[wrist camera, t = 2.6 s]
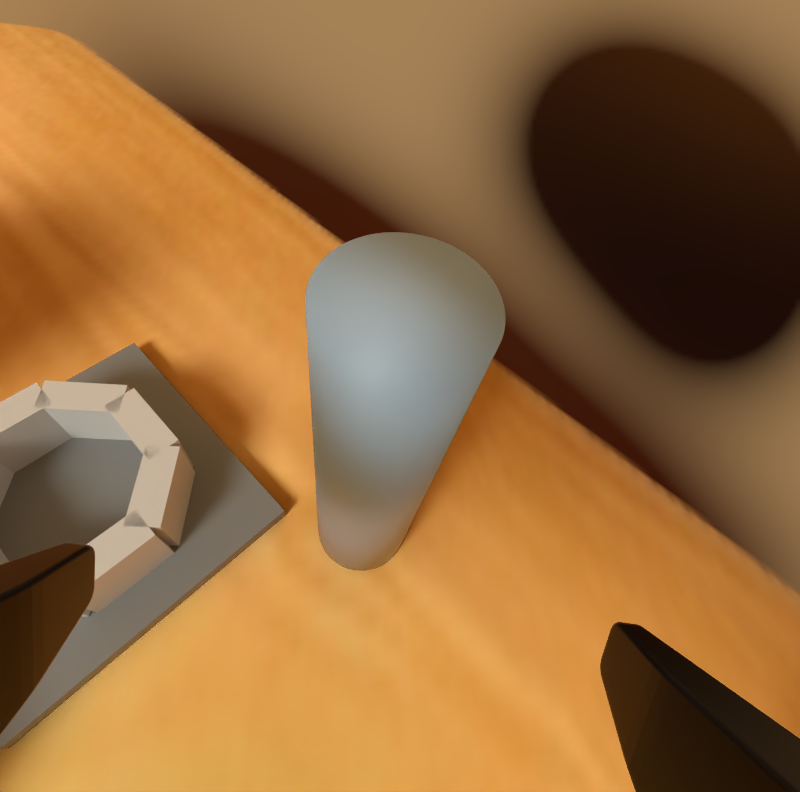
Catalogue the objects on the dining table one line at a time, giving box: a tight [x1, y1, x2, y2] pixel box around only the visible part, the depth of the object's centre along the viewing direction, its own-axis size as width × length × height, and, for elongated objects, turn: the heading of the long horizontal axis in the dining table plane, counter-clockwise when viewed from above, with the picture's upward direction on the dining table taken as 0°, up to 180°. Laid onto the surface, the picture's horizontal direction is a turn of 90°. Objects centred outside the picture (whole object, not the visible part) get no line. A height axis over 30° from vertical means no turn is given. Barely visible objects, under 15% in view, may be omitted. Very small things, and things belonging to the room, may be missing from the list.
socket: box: [0, 343, 285, 749], centre depth 18 cm, size 11×11×3 cm
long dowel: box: [305, 232, 506, 570], centre depth 15 cm, size 4×4×14 cm
